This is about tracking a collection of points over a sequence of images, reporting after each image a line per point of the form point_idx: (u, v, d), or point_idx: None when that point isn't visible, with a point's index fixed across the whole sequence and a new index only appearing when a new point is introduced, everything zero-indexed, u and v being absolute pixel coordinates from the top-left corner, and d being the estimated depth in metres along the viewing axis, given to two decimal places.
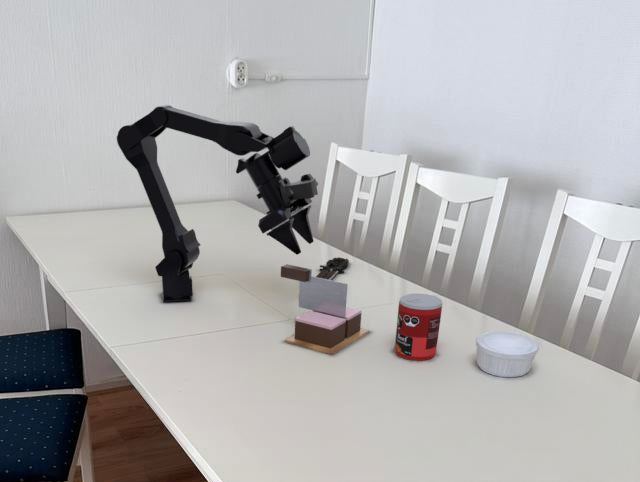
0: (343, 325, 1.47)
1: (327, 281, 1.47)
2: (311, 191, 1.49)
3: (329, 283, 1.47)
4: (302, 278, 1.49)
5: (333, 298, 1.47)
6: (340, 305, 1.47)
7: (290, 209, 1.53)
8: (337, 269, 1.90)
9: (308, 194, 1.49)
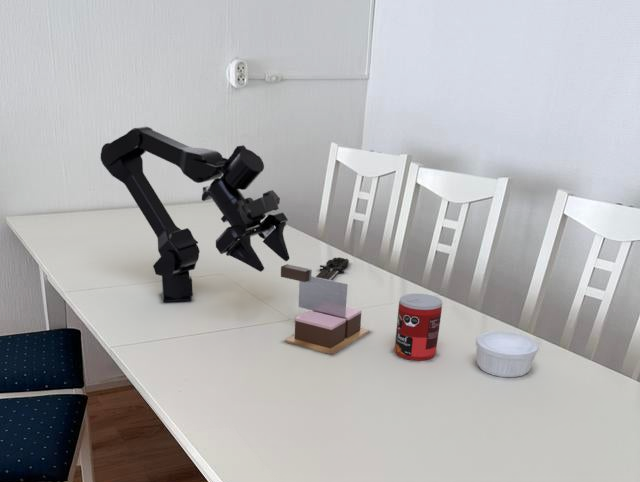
0: (343, 325, 1.47)
1: (327, 281, 1.47)
2: (265, 206, 1.46)
3: (329, 283, 1.47)
4: (302, 278, 1.49)
5: (333, 298, 1.47)
6: (340, 305, 1.47)
7: (253, 227, 1.51)
8: (337, 269, 1.90)
9: (263, 209, 1.47)
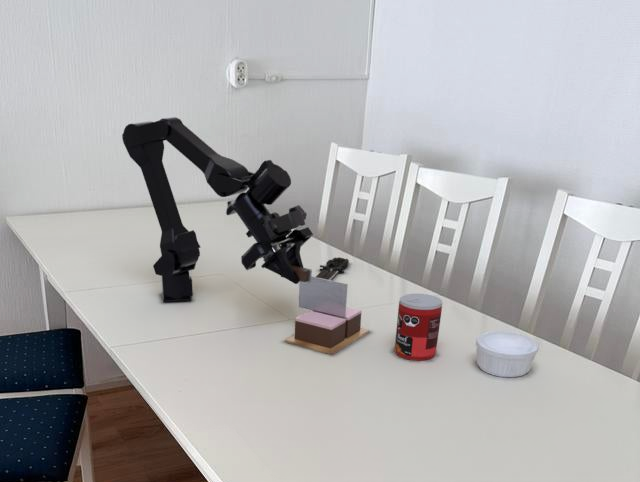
0: (343, 325, 1.47)
1: (327, 281, 1.47)
2: (293, 221, 1.44)
3: (329, 283, 1.47)
4: (302, 278, 1.49)
5: (333, 298, 1.47)
6: (340, 306, 1.47)
7: (288, 240, 1.51)
8: (337, 269, 1.90)
9: (290, 225, 1.44)
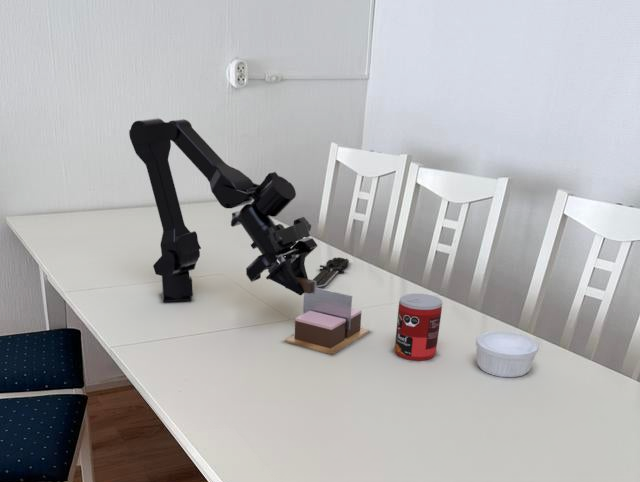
0: (343, 325, 1.47)
1: (332, 293, 1.47)
2: (297, 233, 1.44)
3: (334, 295, 1.47)
4: (307, 290, 1.49)
5: (338, 310, 1.48)
6: (344, 317, 1.47)
7: (292, 251, 1.51)
8: (337, 269, 1.90)
9: (294, 237, 1.45)
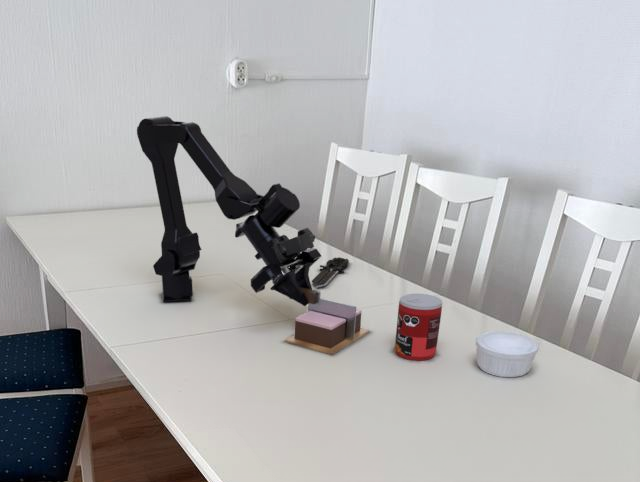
0: (343, 325, 1.47)
1: (336, 303, 1.47)
2: (301, 245, 1.45)
3: (338, 305, 1.47)
4: (311, 300, 1.50)
5: None
6: (349, 328, 1.48)
7: (296, 262, 1.52)
8: (337, 269, 1.90)
9: (298, 248, 1.45)
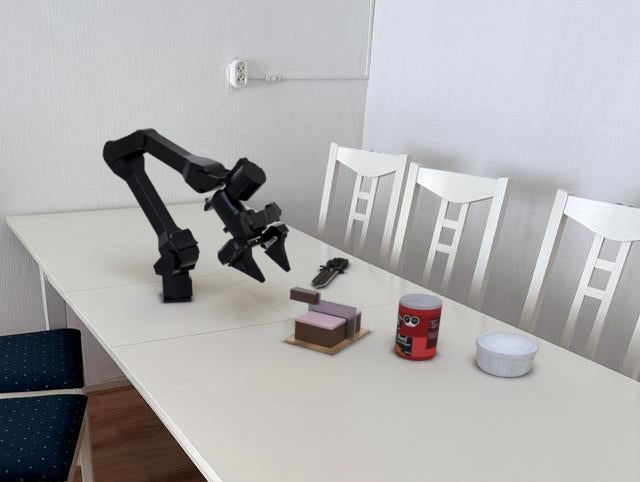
0: (343, 325, 1.47)
1: (336, 304, 1.47)
2: (267, 218, 1.47)
3: (338, 306, 1.47)
4: (311, 301, 1.50)
5: None
6: (349, 328, 1.48)
7: (254, 239, 1.52)
8: (337, 269, 1.90)
9: (264, 221, 1.47)
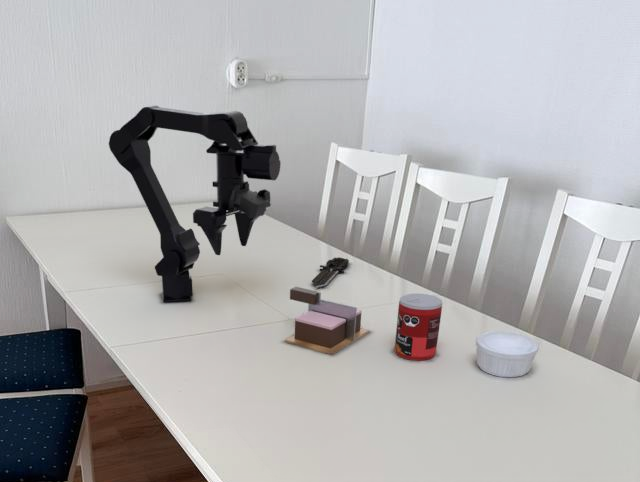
0: (343, 325, 1.47)
1: (336, 304, 1.47)
2: (254, 212, 1.52)
3: (338, 306, 1.47)
4: (311, 301, 1.50)
5: None
6: (349, 328, 1.48)
7: (233, 213, 1.56)
8: (337, 269, 1.90)
9: (250, 213, 1.52)
